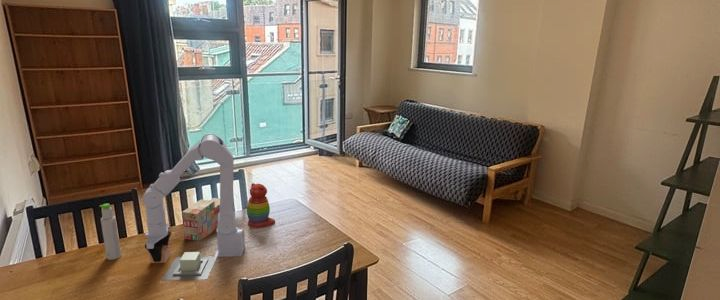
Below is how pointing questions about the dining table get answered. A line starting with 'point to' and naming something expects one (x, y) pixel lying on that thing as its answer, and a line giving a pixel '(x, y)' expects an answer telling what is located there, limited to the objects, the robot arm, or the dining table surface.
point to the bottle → (110, 233)
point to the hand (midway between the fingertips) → (160, 256)
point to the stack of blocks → (201, 219)
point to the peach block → (162, 254)
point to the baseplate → (200, 274)
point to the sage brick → (190, 261)
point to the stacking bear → (258, 207)
